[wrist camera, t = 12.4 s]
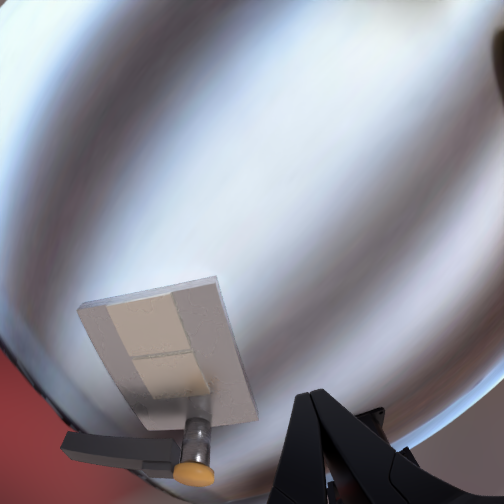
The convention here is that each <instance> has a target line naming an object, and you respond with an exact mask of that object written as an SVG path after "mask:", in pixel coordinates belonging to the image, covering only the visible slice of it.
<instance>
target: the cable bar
mask: <svg viewBox="0 0 504 504" xmlns="http://www.w3.org/2000/svg"><path fill="white" fill-rule="evenodd" d="M60 449H61V450H62V451H63V452H64V453H65V454H66V455H67V456H68V457H69V458H70V459H71V460H76V461H80V462H85V463H91V464H96V465H102V466H109V467H116V468H124V469H134V470H143V471H144V472H145V473H146V474H147V475H148V476H149V477H152V478H171V479H175V480H176V481H178V482H180V483H182V484H185V485H189V486H196V487H203V486H208V485H211V484H213V483H214V471H213V470H212V469H211V468H210V467H208V466H205V465H202V464H198V463H180V464H179V460H180V452H181V450H180V448H179V447H178V446H177V444H176V443H175V441H174V440H173V439H147V438H124V437H111V436H100V435H91V434H84V433H77V432H70V431H68V432H67V434H66V436H65V439H64V441H63V443H62V445H61V447H60Z"/></svg>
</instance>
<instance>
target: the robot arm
mask: <svg viewBox="0 0 504 504" xmlns="http://www.w3.org/2000/svg"><path fill="white" fill-rule="evenodd" d="M384 415H385V409H384V408H383V407H381V408H378V409H376V410H373V411H370V412H367V413H364V414H361V415H358V416H354V415H353V414H352V413H350V412H349V411H348V410H347V409H346V408H345V407H343V406H342V405H341V404H340V403H339V402H338V401H337V400H335V399H334V398H333V397H332V396H331V395H330V394H329V393H327V392H326V391H325V390H324V389H318V390H314V391H311V392H310V394H309V393H308V392H306V393H302V394H298V395H296V396H295V400H294V405H293V409H292V413H291V418H290V422H289V426H288V430H287V434H286V438H285V442H284V446H283V450H282V453H281V457H280V461H279V465H278V468H277V472H276V475H275V479H274V482H273V487H272V488H271V492H270V495H269V498H268V501H267V504H328V500H327V495H328V499H329V504H504V496H481V495H474V494H471V493H468V492H465V491H463V490H461V489H459V488H457V487H455V486H452V485H451V484H449V483H447V482H444V481H443V480H441V479H439V478H437V477H435V476H433V475H431V474H429V473H428V472H426V471H424V470H423V469H421V468H420V466H419V465H418V463H417V461H416V460H415V458H414V456H413V455H412V453H411V451H410V450H409V448H408V446H407V447H405V448H403V450H401V451H400V452H396V450H395V449H394V448H392V447H391V446H390V444H389V442H388V440H387V437H386V435H385V433H384V431H383V429H382V426H383V421H384ZM323 455H324V456H323ZM324 458H325V460H326V463H327V465H328V468H329V470H330V472H331V475H332V477H333V480H334V481H331V482H328V483H327V484H328V488H326V477H325V466H324Z"/></svg>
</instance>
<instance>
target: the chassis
mask: <svg viewBox="0 0 504 504" xmlns="http://www.w3.org/2000/svg"><path fill="white" fill-rule="evenodd" d="M77 312H78V315H79V317H80V319H81V321H82V323H83V325H84V327H85V329H86V331H87V333H88V335H89V337H90V339H91V341H92V343H93V345H94V347H95V349H96V351H97V352H98V354H99V356H100V358H101V360H102V361H103V363H104V365H105V367H106V368H107V370H108V372H109V374H110V375H111V377H112V379H113V380H114V382H115V383H116V385H117V387H118V388H119V390H120V391H121V393H122V395H123V396H124V398H125V399H126V401H127V402H128V404H129V405H130V407H131V408H132V410H133V411H134V413H135V414H136V415H137V417H138V418H139V420H140V421H141V422H142V424H143V425H144V426H145V428H146V429H147V430H178V429H184V435H183V442H182V450H181V457H180V463H198V464H202V465H205V466H208V467H209V464H210V442H211V427H215V426H223V425H231V424H239V423H245V422H252V421H258V420H259V418H258V410H257V407H256V404H255V401H254V398H253V395H252V392H251V389H250V386H249V383H248V380H247V376H246V373H245V370H244V367H243V364H242V361H241V357H240V354H239V351H238V348H237V344H236V341H235V338H234V335H233V331H232V328H231V325H230V321H229V318H228V314H227V311H226V308H225V304H224V301H223V297H222V294H221V290H220V287H219V283H218V279H217V276H212V277H208V278H203V279H198V280H194V281H189V282H184V283H179V284H174V285H170V286H165V287H160V288H155V289H150V290H145V291H140V292H135V293H130V294H125V295H120V296H115V297H110V298H105V299H100V300H95V301H90V302H85V303H82V304H81V306H80V307H79V308H78V309H77Z"/></svg>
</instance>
